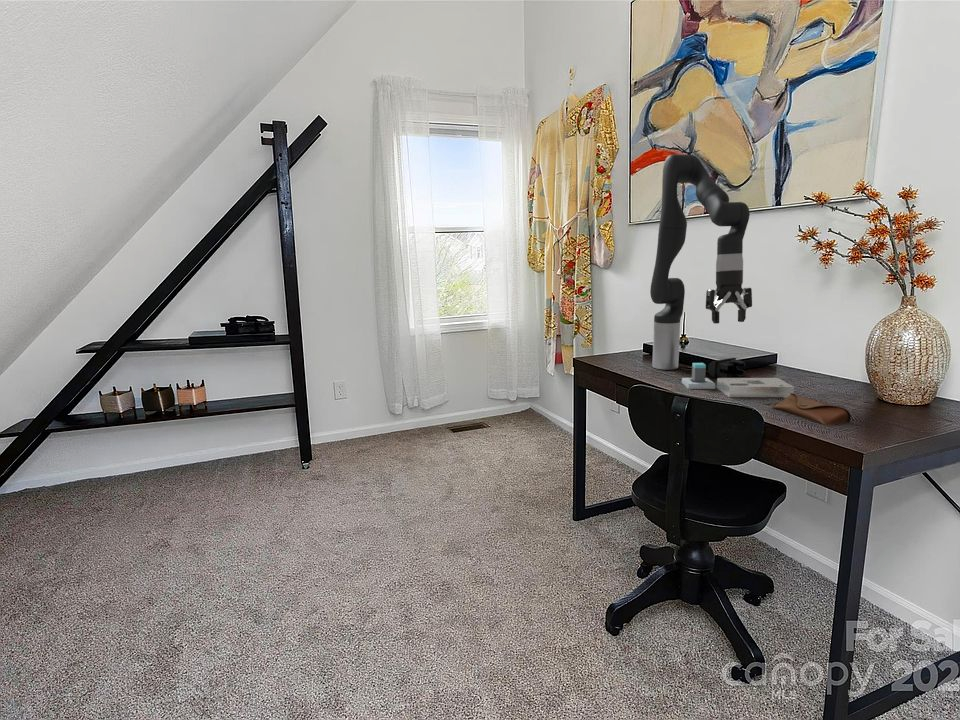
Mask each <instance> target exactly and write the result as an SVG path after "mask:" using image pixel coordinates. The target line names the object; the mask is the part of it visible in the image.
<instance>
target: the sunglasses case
mask: <svg viewBox="0 0 960 720" xmlns="http://www.w3.org/2000/svg"><path fill="white" fill-rule="evenodd" d="M770 408H771V409H773V410H777V411H780V410H781V411H780V412H785V413H787V414H790V415H794V416H796V417H800V418H803V419H806V420H809V421H811V422H815V423H818V424H820V425H823V426H830V425H831V426H832V425H839V424H844V423H850V422H851V419H852V415H851V413H850V411H849V410H848V409H846V408H843V407H841V406H838V405H832V404H829V403H825V402H822V401H818V400H815V399H811V398H807V397H805V396H800V395H798V394H796V393H794V394H793V393H791V394H790V396H788V397H787V398H783V399H782V400H781V401H780V402H778V403H776V404H775V405H774V406H771V407H770Z"/></svg>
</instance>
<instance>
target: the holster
mask: <svg viewBox="0 0 960 720" xmlns="http://www.w3.org/2000/svg"><path fill="white" fill-rule="evenodd" d="M681 383H682V384H683V386H685V387H686V388H687V389H688V390H691V389H692V390H693V389H694V390H695V389H696V390H698V389H699V390H700V389H701V390H703V389H704V390H706V389H707V390H708V389H709V390H710V389H712V390H714V389H716V383H715V382H714V381H712V380H711V379H710V378H708V377H705V382H701V383H693V382H692V377H681Z"/></svg>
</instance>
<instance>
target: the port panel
mask: <svg viewBox="0 0 960 720" xmlns="http://www.w3.org/2000/svg"><path fill="white" fill-rule="evenodd" d="M716 378H717V379H716V388H717V389H718V390H719V391H721V392H722V393H723V394H724V395H726V396H728V397H729V398H783V399H785V398H787V397H788V396H790V394H791V393H793V394H795V386H794V385H791V384H789V383H788V382H786V381H784V380H782V379H781V378H779V377H732V378H720V377H716Z"/></svg>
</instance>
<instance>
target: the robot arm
mask: <svg viewBox="0 0 960 720" xmlns="http://www.w3.org/2000/svg"><path fill="white" fill-rule="evenodd" d="M687 183H689V184H691V185H693V186H695V197H696V199H697V200H698V202H699V203H700V204H701V205H702V206H703V207H704V208H705V209H706V211H707V212H708V213H707V214H708V215H709V217H710V220H711V223H713V224H714V225H715V226H718V227H730V228H729V231H728V233H726V234H722V235H720V236H719V237H717V244H716V245H717V246H716V248H717V249H716V255H717V256H716V262H715V285H716V289H707V290H706V294H705V295H706V296H705V309H706V310H708V311H709V310H710V311H711V322H712V323H713V324H720V309H721V308H722V306H724V304H729V303H732V304H734V305H736V307H737V308H738V309H737V322H739V323H744V322H745V320H746V319H747V316H746V313H747V309H749V308H752V306H753V294H752V293H753V292H752V291H753V290H752V288H751V287H744V288H743V286H742V285H743V283H744V278H743V277H744V257H743V250H744V249H743V248H744V247H743V243H744V242H743V240H744V237H745V234H746V231H747V227H748V224H749V220H750V216H751V215H750V214H751V213H750V208H749V206H748V204H746V203H745V202H741V201H736V202H735V201H733V202H731V201H730V197H729V195H728V193H727V192H726V191H725V190H724V189H723V188H721V187H720V186H719V184H718V183H716V182H715V181H714V180H713V179H712V177H711V175H710V174H709V172H708V171H707V169H706V168H705V166H704V164H703V163H702V162H701V160H700V159H699V158H698V157H697V156H696V155H694V154H693V155H692V154H675V153H673V154H670V155H668V156H667V157H666V158H665V161H664V164H663V167H662V183H661V184H662V185H661V186H662V187H661V188H662V189H661V191H662V192H661V209H660V218H659V225H658V227H659V228H658V236H657V245H656V246H657V249H656V256H655V264H654V268H653V272H652V277H651V282H650V294H649V295H650V298H651V300H652V302H653V303H654V304H656V305H664V307H663V309H661V310H660V311H658V312H657V313H655V314H654V315H653V316H654V317H653V341H652V343H653V344H652V363H651V364H652V366H651V367H652V368H653V369H657V370H669V371H670V370H677V369H679V356H680V338H681V337H680V336H681V335H680V334H681V319H682V316H683V312H684V304H685V302H684V301H685V295H686V291H685V290H686V289H685V284H684V282H683V280H682V279H681V278H678V277H669V274H670V269H671V266H672V264H673V262H674V261H675V259H676V257H677V256H678V255H679V253H680V251H682V249H683V247H684V244H685V241H686V237H687V236H686V235H687V228H688V221H687V217H686V215H685V213H684V210H683V208H682V206H681V204H680V202H679V197H678V184H687ZM741 295H742V296H741ZM715 296H716V298H715Z"/></svg>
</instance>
